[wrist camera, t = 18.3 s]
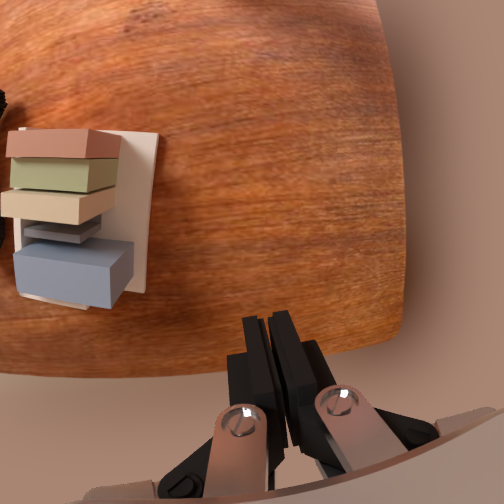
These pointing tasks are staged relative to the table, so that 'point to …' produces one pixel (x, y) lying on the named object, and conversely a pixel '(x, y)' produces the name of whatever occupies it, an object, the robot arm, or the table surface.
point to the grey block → (75, 270)
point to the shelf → (125, 207)
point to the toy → (0, 105)
